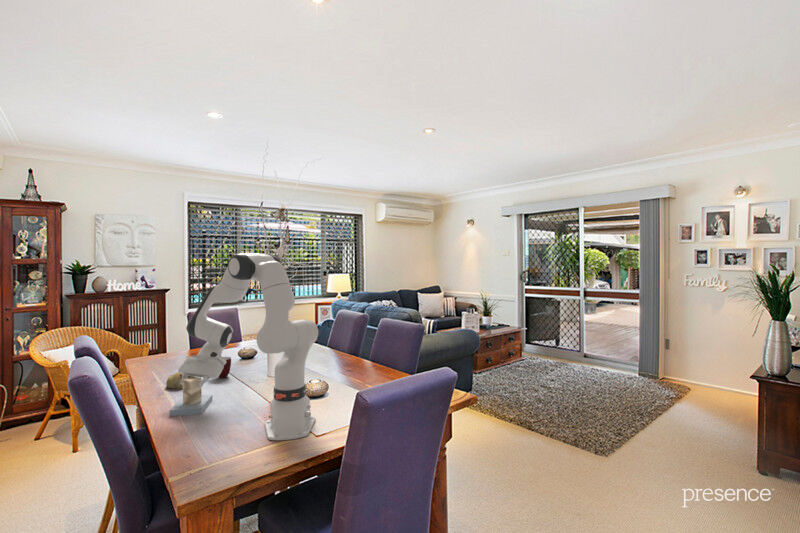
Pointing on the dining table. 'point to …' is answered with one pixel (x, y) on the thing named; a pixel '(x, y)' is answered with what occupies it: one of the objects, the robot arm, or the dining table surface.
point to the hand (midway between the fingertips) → (190, 385)
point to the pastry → (175, 381)
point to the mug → (226, 368)
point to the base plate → (191, 407)
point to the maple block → (191, 391)
